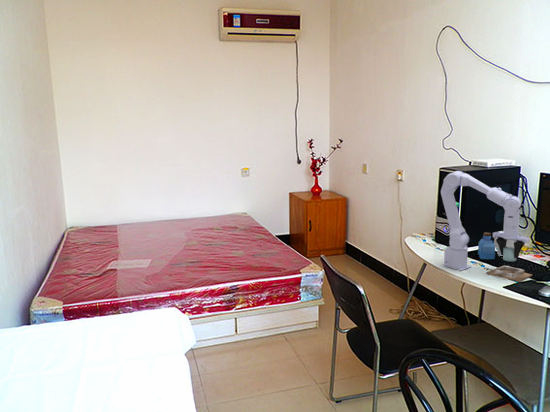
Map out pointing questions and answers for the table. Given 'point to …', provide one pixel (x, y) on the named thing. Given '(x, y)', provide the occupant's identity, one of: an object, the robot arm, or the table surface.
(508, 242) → the skincare box
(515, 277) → the collar board
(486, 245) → the perfume bottle
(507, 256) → the light blue cup
